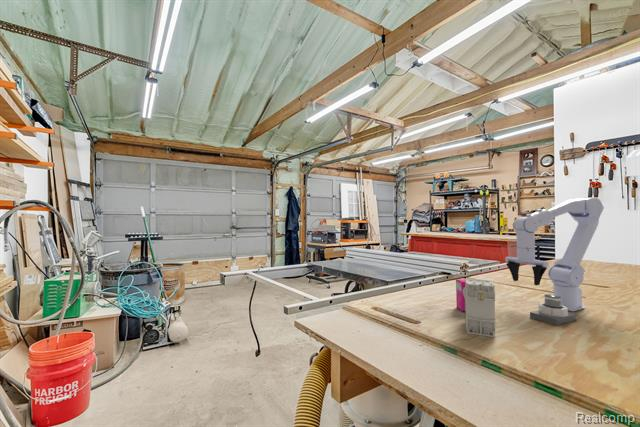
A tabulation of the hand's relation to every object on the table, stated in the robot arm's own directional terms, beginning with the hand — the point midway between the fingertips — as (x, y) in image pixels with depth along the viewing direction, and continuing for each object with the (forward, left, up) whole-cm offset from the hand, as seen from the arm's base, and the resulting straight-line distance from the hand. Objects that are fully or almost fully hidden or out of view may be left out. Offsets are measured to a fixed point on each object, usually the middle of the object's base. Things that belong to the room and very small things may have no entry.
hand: (526, 282), depth 110 cm
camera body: (+4, +11, -10) cm, 15 cm away
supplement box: (+23, -8, -10) cm, 26 cm away
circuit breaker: (+34, +5, -10) cm, 36 cm away
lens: (+4, +11, -8) cm, 14 cm away
